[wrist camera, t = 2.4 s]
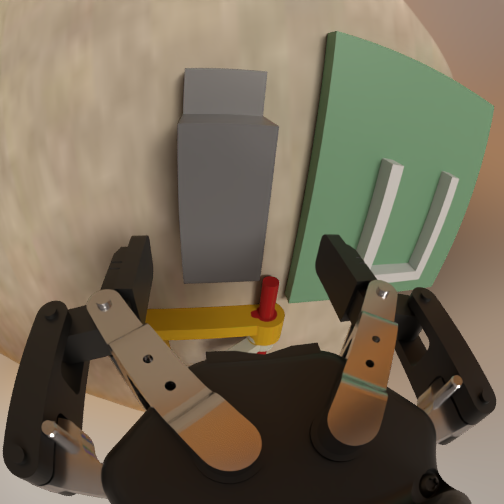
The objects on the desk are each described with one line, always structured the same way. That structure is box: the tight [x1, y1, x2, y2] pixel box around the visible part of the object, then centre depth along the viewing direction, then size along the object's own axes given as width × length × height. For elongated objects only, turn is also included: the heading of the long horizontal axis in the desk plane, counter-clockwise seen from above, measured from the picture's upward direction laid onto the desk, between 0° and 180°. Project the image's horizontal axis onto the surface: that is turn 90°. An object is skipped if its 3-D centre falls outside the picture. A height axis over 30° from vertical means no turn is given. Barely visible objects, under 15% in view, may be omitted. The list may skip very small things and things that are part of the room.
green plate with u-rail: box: [285, 31, 494, 303], centre depth 22 cm, size 20×24×3 cm
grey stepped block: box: [178, 68, 279, 284], centre depth 17 cm, size 13×5×6 cm, turn 175°
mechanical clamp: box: [145, 276, 285, 354], centre depth 32 cm, size 18×6×30 cm
